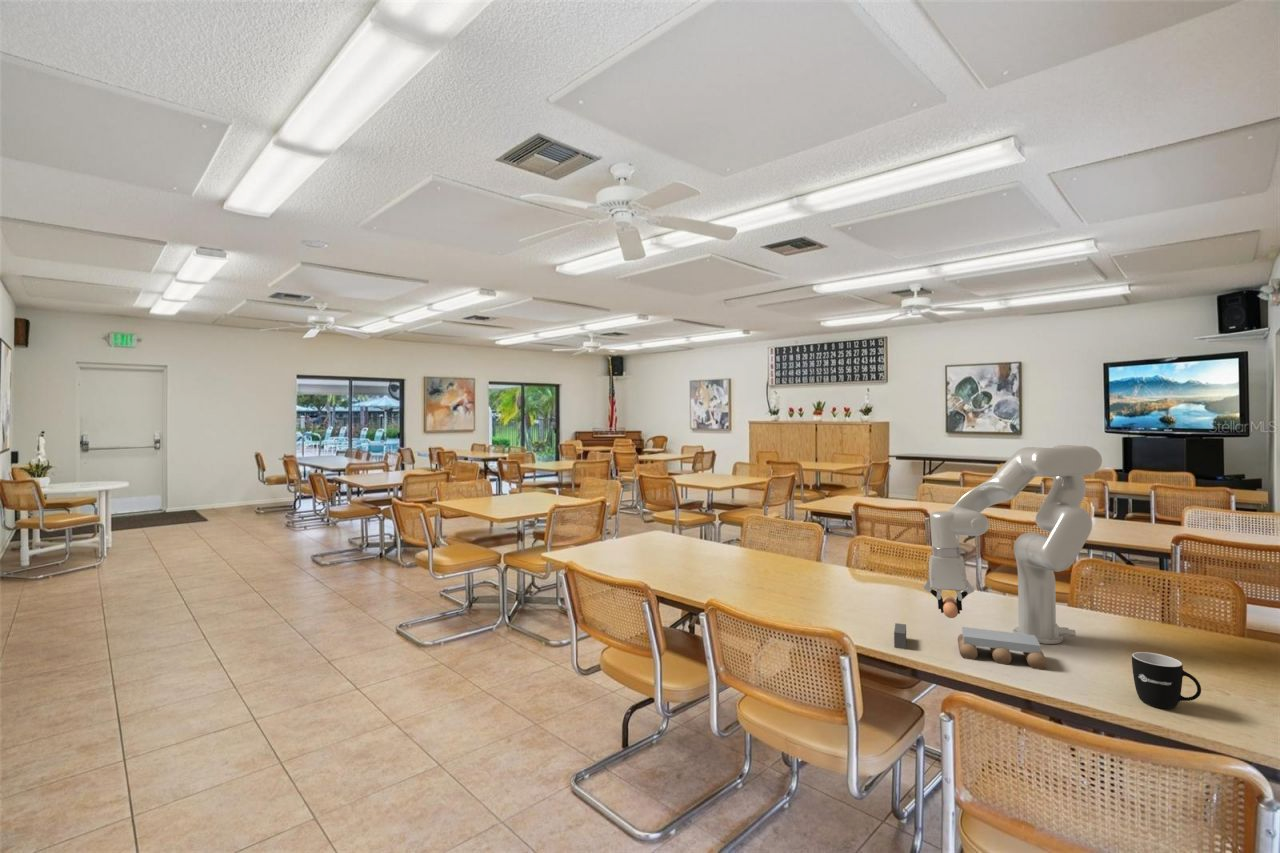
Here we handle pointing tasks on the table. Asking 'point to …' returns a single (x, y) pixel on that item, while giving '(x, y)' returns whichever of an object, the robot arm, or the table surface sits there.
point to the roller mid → (1001, 655)
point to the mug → (1160, 679)
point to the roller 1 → (950, 607)
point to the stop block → (900, 636)
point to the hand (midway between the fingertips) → (950, 611)
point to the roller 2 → (966, 649)
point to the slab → (1001, 640)
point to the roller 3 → (1036, 660)
